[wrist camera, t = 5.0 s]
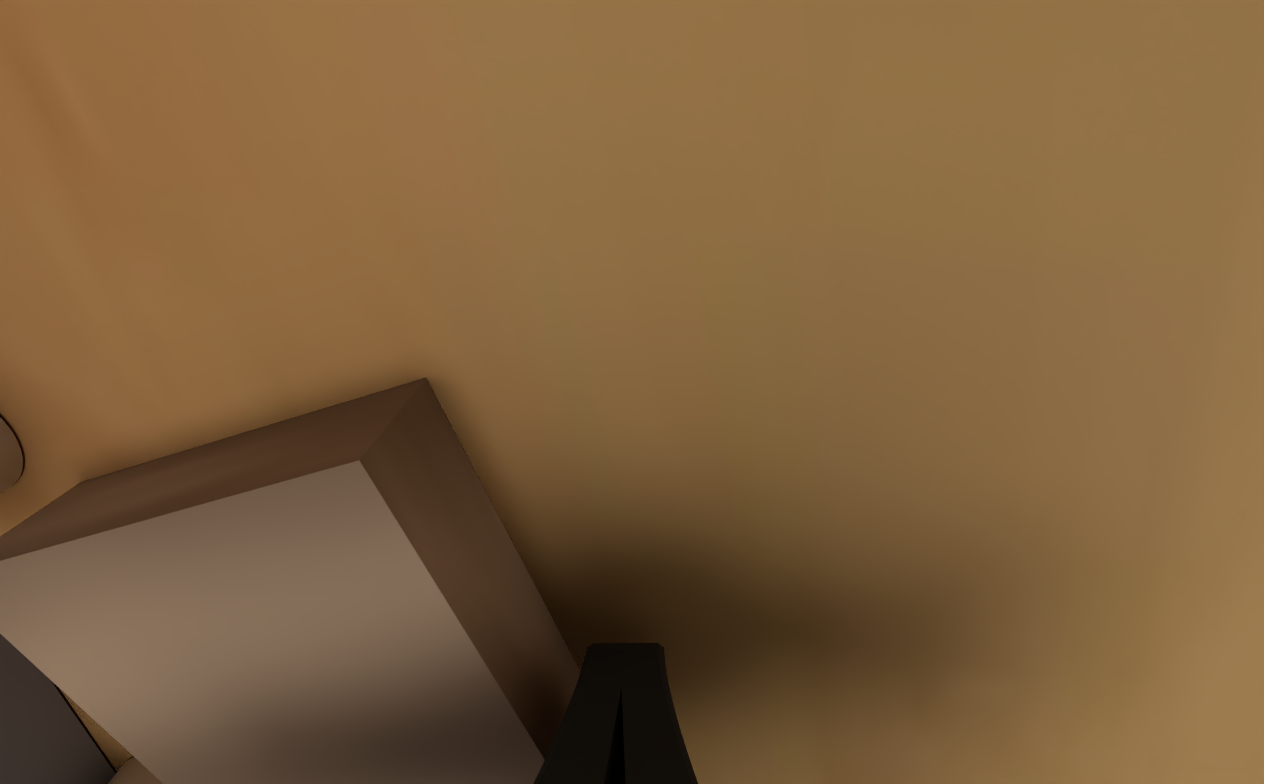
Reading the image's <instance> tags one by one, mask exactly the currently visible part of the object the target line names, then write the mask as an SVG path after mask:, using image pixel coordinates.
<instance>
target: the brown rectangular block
mask: <svg viewBox="0 0 1264 784" xmlns="http://www.w3.org/2000/svg"><path fill="white" fill-rule="evenodd" d="M0 634H1V635H2V636H3V637H5V638H6V639H7V640H8V641H9V642H10V643H11V644H12V645H13V646H14V647H15V648H17V649H18V650H19V651H20V652H21V653H22V654H23V655H24V656H25V657H26V658H27V659H28V660H30V661H31V662H32V663H33V664H34V665H35V666H36V667H37V668H38V669H39V670H40V671H41V672H43V673H44V674H45V675H46V676H47V677H48V678H49V679H50V680H51V681H52V682H53V683H54V684H56V685H57V686H58V687H59V688H60V689H61V690H62V691H63V692H64V693H65V694H66V695H68V696H69V697H70V698H71V699H72V700H73V701H74V702H75V703H76V704H77V705H78V706H79V707H81V708H82V709H83V710H84V711H85V712H86V713H87V714H88V715H89V716H90V717H91V718H92V719H94V720H95V721H96V722H97V723H98V724H99V725H100V726H101V727H102V728H103V729H104V730H105V731H107V732H108V733H109V734H110V735H111V736H112V737H113V738H114V739H115V740H116V741H117V742H119V743H120V744H121V745H122V746H123V747H124V748H125V749H126V750H127V751H128V752H129V753H130V754H132V755H133V756H134V757H135V758H136V759H137V760H138V761H139V762H140V763H141V764H142V765H143V766H145V767H146V768H147V769H148V770H149V771H150V772H151V773H152V774H153V775H154V776H155V777H156V778H158V779H159V780H160V781H161V782H162V783H163V784H533V783H534V781H535V779H536V777H537V775H538V773H539V771H540V769H541V767H542V765H543V763H544V761H545V759H546V756H547V754H548V752H549V750H550V747H551V745H552V743H553V741H554V738H555V736H556V734H557V732H558V729H559V727H560V725H561V722H562V720H563V718H564V715H565V713H566V710H567V708H568V705H569V703H570V700H571V698H572V695H573V692H574V690H575V687H576V684H577V681H578V678H579V675H580V670H579V668H578V666H577V664H576V662H575V660H574V658H573V657H572V655H571V653H570V651H569V649H568V647H567V645H566V643H565V641H564V639H563V638H562V636H561V634H560V632H559V630H558V628H557V626H556V624H555V622H554V620H553V618H552V617H551V615H550V613H549V611H548V609H547V607H546V605H545V603H544V601H543V599H542V597H541V596H540V594H539V592H538V590H537V588H536V586H535V584H534V582H533V580H532V578H531V577H530V575H529V573H528V571H527V569H526V567H525V565H524V563H523V561H522V559H521V557H520V556H519V554H518V552H517V550H516V548H515V546H514V544H513V542H512V540H511V538H510V537H509V535H508V533H507V531H506V529H505V527H504V525H503V523H502V521H501V519H500V517H499V516H498V514H497V512H496V510H495V508H494V506H493V504H492V502H491V500H490V498H489V496H488V495H487V493H486V491H485V489H484V487H483V485H482V483H481V481H480V479H479V477H478V476H477V474H476V472H475V470H474V468H473V466H472V464H471V462H470V460H469V458H468V456H467V455H466V453H465V451H464V449H463V447H462V445H461V443H460V441H459V439H458V437H457V436H456V434H455V432H454V430H453V428H452V426H451V424H450V422H449V420H448V418H447V416H446V415H445V413H444V411H443V409H442V407H441V405H440V403H439V401H438V399H437V397H436V395H435V394H434V392H433V390H432V388H431V386H430V384H429V382H428V380H427V378H423V379H420V380H417V381H413V382H410V383H407V384H403V385H400V386H397V387H393V388H390V389H387V390H384V391H380V392H377V393H374V394H370V395H367V396H364V397H360V398H357V399H354V400H350V401H347V402H344V403H341V404H337V405H334V406H331V407H327V408H324V409H321V410H317V411H314V412H311V413H308V414H304V415H301V416H298V417H294V418H291V419H288V420H284V421H281V422H278V423H274V424H271V425H268V426H265V427H261V428H258V429H255V430H251V431H248V432H245V433H241V434H238V435H235V436H232V437H228V438H225V439H222V440H218V441H215V442H212V443H208V444H205V445H202V446H199V447H195V448H192V449H189V450H185V451H182V452H179V453H175V454H172V455H169V456H165V457H162V458H159V459H156V460H152V461H149V462H146V463H142V464H139V465H136V466H132V467H129V468H126V469H123V470H119V471H116V472H113V473H109V474H106V475H103V476H99V477H96V478H93V479H89V480H86V481H83V482H80V483H79V484H78V485H76V486H75V487H73V488H72V489H70V490H69V491H67V492H66V493H64V494H63V495H61V496H60V497H58V498H57V499H55V500H54V501H52V502H51V503H49V504H48V505H47V506H45V507H44V508H42V509H41V510H39V511H38V512H36V513H35V514H33V515H32V516H30V517H29V518H27V519H26V520H24V521H23V522H21V523H20V524H18V525H17V526H16V527H14V528H13V529H11V530H10V531H8V532H7V533H5V534H4V535H2V536H1V537H0Z"/></svg>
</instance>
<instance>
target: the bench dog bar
mask: <svg viewBox="0 0 1264 784" xmlns="http://www.w3.org/2000/svg"><path fill="white" fill-rule="evenodd" d="M22 468H23V457H22V452H21V449H20V446H19V443H18V441H17V439H16V437H15V436H14V434H13V433H12V431H11V429H10V428H9V427H8V425H7V424H6V423H5V422H4V420H3V419H2V418H1V417H0V493H1V492H3V491H5V490H6V489H8V488H9V487H11V486H13V485H14V484H15V483H16V482H17V480H18V479H19V477H20V475H21V473H22ZM0 784H163V783H162V782H161V781H160V780H159V779H158V778H156V777H155V776H154V775H153V774H152V773H151V772H150V771H149V770H148V769H147V768H146V767H145V766H143V765H142V764H141V763H140V762H139V761H138V760H137V759H136V758H135V757H133V758H130V759H129V760H127V761H126V762H125V763H124V764H123V765H122V767H121V768H120V769H119V770H118V772H117V773H115V772H114V771H113V769H112V768H111V766H110V765H109V763H108V762H107V761H106V759H105V758H104V756H103V755H102V753H101V752H100V751H99V749H98V748H97V746H96V745H95V743H94V742H93V741H92V739H91V738H90V736H89V735H88V733H87V732H86V730H85V729H84V728H83V726H82V725H81V723H80V722H79V720H78V719H77V718H76V716H75V715H74V713H73V712H72V710H71V709H70V708H69V706H68V705H67V703H66V702H65V700H64V699H63V697H62V696H61V695H60V693H59V692H58V690H57V689H56V687H55V686H54V685H53V683H52V682H51V680H50V679H49V678H48V677H47V676H46V675H45V674H44V673H43V672H41V671H40V670H39V669H38V668H37V667H36V666H35V665H34V664H33V663H32V662H31V661H30V660H28V659H27V658H26V657H25V656H24V655H23V654H22V653H21V652H20V651H19V650H18V649H17V648H15V647H14V646H13V645H12V644H11V643H10V642H9V641H8V640H7V639H6V638H5V637H3V636H2V635H1V634H0Z"/></svg>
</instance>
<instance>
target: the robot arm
mask: <svg viewBox="0 0 1264 784" xmlns="http://www.w3.org/2000/svg"><path fill="white" fill-rule="evenodd" d="M533 784H698V782H697V779H696V777H695V774H694V771H693V768H692V765H691V762H690V759H689V756H688V753H687V750H686V746H685V743H684V740H683V737H682V734H681V731H680V727H679V724H678V720H677V717H676V713H675V709H674V705H673V701H672V697H671V693H670V688H669V684H668V678H667V673H666V666H665V658H664V647H662V646H661V645H660V644H658V643H593V644H592V645H591V646H589V647H588V648H587V652H586V656H585V659H584V663H583V666H582V669H581V672H580V675H579V678H578V681H577V684H576V687H575V690H574V692H573V695H572V698H571V700H570V703H569V705H568V708H567V710H566V713H565V715H564V718H563V720H562V722H561V725H560V727H559V729H558V732H557V734H556V736H555V738H554V741H553V743H552V745H551V747H550V750H549V752H548V754H547V756H546V759H545V761H544V763H543V765H542V767H541V769H540V771H539V773H538V775H537V777H536V779H535V781H534V783H533Z"/></svg>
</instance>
